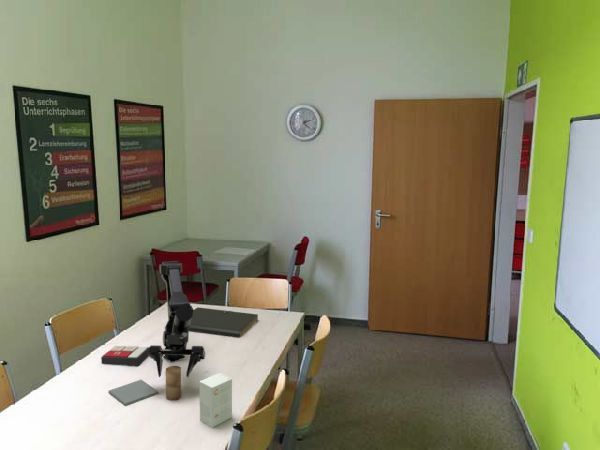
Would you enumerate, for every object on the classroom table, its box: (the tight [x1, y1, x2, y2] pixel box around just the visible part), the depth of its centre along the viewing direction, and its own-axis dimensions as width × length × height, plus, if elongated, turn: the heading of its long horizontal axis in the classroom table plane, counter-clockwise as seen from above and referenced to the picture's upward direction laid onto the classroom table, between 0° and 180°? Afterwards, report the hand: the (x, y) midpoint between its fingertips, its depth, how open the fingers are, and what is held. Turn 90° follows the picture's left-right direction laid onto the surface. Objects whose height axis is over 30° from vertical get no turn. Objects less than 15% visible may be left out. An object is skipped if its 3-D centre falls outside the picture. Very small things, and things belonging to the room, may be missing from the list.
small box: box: [198, 372, 233, 429], centre depth 149 cm, size 8×6×13 cm
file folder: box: [189, 306, 259, 338], centre depth 232 cm, size 33×4×24 cm
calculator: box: [100, 345, 150, 368], centre depth 191 cm, size 11×4×15 cm
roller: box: [165, 365, 182, 402], centre depth 163 cm, size 5×5×10 cm
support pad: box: [108, 379, 160, 407], centre depth 165 cm, size 12×12×1 cm
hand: (173, 376), depth 162 cm, fingers open, 9 cm apart
